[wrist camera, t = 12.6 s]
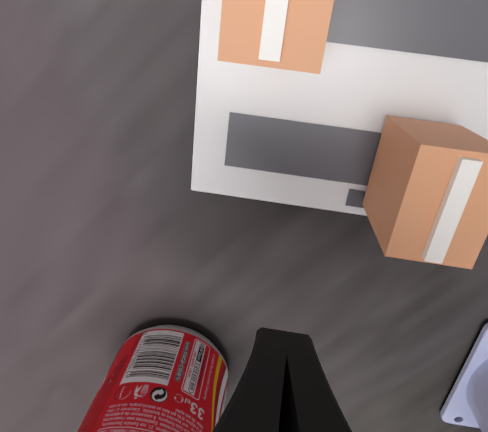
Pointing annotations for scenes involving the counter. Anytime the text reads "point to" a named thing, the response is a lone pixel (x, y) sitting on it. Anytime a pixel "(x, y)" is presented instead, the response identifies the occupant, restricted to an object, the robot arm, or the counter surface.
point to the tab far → (429, 192)
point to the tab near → (275, 33)
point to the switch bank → (336, 100)
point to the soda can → (161, 385)
